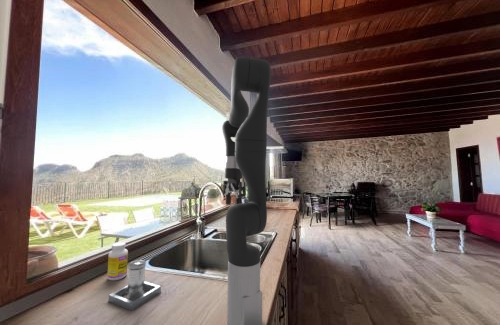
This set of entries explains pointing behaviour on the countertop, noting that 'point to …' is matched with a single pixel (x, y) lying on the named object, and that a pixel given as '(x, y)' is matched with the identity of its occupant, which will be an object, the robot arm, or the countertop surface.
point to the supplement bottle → (117, 261)
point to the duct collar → (131, 305)
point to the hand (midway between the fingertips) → (233, 205)
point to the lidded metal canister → (136, 279)
